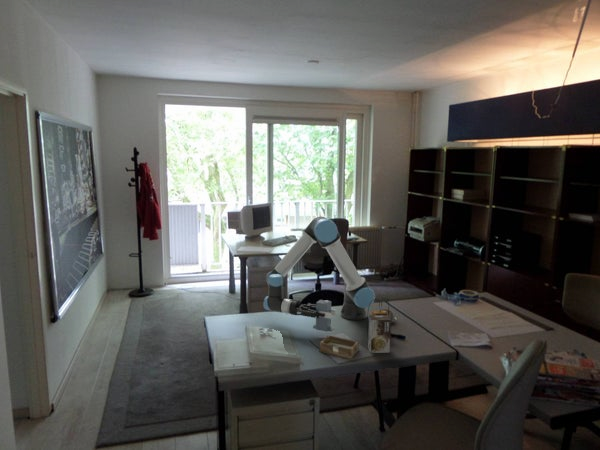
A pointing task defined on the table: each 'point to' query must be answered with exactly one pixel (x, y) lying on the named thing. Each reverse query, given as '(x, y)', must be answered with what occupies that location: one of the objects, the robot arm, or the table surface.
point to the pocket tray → (339, 346)
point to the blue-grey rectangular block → (322, 322)
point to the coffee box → (379, 334)
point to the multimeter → (378, 313)
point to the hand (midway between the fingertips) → (333, 314)
